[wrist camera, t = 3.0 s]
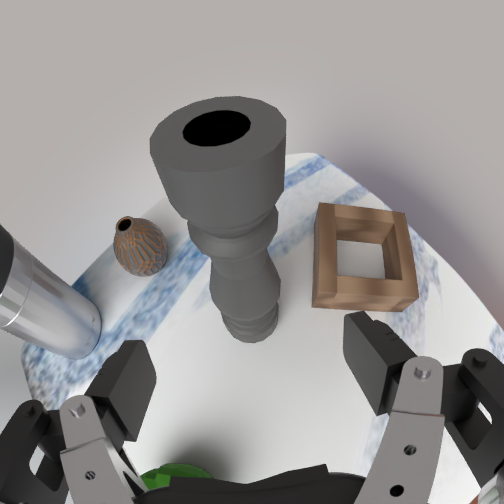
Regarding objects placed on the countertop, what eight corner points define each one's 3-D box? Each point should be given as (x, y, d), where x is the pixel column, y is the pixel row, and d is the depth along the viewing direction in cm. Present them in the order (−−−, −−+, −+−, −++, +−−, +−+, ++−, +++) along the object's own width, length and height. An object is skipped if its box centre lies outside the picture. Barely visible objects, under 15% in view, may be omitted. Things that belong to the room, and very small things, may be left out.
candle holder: (283, 300, 32) (305, 101, 11) (269, 349, 30) (272, 192, 8) (234, 287, 34) (185, 92, 12) (217, 334, 31) (114, 169, 9)
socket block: (311, 307, 32) (318, 291, 27) (314, 225, 38) (319, 202, 33) (401, 312, 30) (419, 297, 26) (392, 234, 36) (404, 213, 32)
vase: (153, 292, 34) (124, 259, 26) (120, 270, 36) (89, 236, 28) (182, 251, 37) (162, 211, 29) (148, 233, 39) (125, 194, 31)
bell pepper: (156, 449, 23) (113, 463, 15) (226, 459, 23) (207, 485, 14) (157, 505, 19) (119, 533, 11) (225, 517, 19) (209, 556, 10)
